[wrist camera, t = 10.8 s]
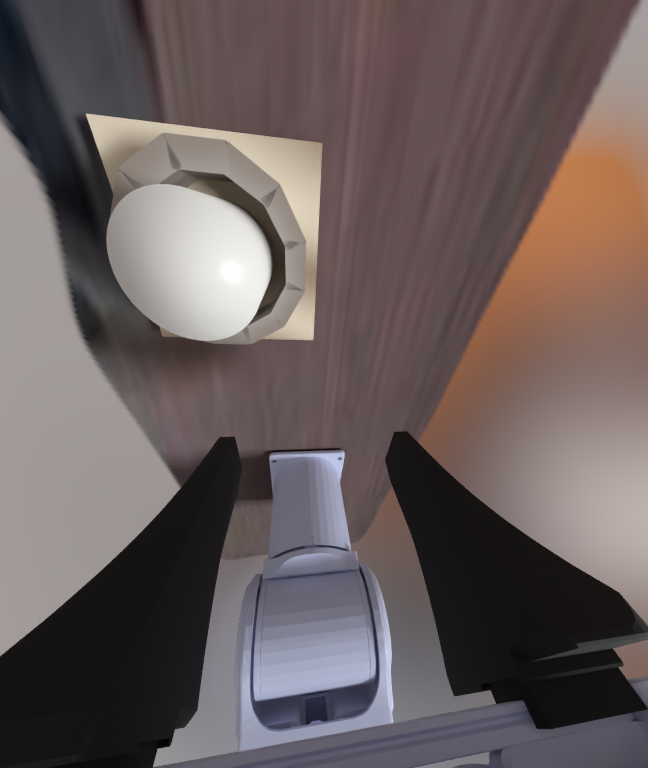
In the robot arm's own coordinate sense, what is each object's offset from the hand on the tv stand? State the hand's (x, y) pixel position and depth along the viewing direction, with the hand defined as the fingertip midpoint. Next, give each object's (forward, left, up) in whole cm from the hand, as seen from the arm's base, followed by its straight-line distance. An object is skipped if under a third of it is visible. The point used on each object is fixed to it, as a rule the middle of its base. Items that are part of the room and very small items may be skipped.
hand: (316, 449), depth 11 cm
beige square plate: (+7, +5, -9) cm, 12 cm away
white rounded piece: (+7, +5, -8) cm, 12 cm away
